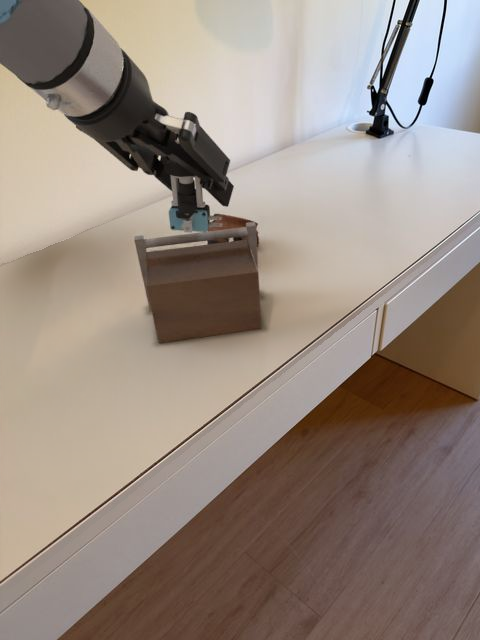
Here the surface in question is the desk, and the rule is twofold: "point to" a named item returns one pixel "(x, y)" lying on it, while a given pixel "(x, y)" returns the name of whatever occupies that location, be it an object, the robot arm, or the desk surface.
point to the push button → (187, 200)
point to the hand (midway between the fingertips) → (207, 192)
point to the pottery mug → (230, 227)
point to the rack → (202, 284)
